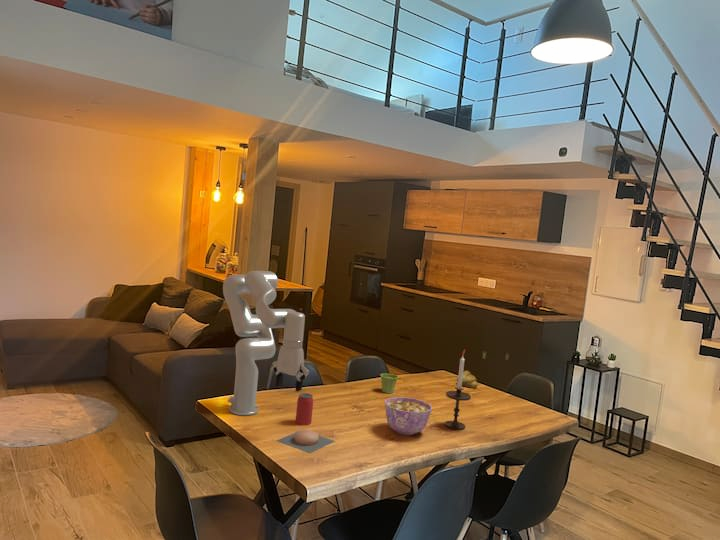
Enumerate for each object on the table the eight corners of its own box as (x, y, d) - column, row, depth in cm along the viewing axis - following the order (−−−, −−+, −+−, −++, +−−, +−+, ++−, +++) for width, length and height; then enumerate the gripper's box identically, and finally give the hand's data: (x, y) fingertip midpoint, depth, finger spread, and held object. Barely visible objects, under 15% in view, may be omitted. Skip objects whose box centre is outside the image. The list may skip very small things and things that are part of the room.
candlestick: (462, 422, 244) (470, 346, 242) (470, 431, 233) (480, 352, 231) (439, 421, 242) (447, 345, 240) (447, 430, 231) (456, 350, 229)
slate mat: (275, 441, 200) (276, 440, 200) (302, 431, 213) (302, 429, 213) (309, 454, 191) (310, 453, 191) (335, 442, 205) (335, 441, 205)
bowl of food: (395, 442, 212) (398, 413, 211) (374, 424, 230) (376, 397, 229) (438, 439, 220) (441, 411, 219) (414, 421, 238) (417, 396, 237)
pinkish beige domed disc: (289, 440, 201) (289, 434, 201) (303, 434, 208) (304, 428, 208) (308, 447, 196) (308, 440, 196) (322, 441, 204) (323, 434, 204)
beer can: (313, 422, 224) (316, 394, 223) (307, 427, 218) (309, 398, 217) (299, 419, 226) (302, 391, 225) (292, 424, 220) (295, 395, 219)
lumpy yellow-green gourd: (480, 388, 308) (482, 375, 307) (467, 389, 303) (469, 375, 303) (466, 382, 319) (467, 369, 319) (453, 383, 314) (455, 369, 314)
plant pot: (377, 388, 286) (379, 372, 285) (394, 389, 287) (396, 374, 286) (380, 393, 277) (381, 377, 276) (398, 395, 278) (399, 378, 277)
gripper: (269, 341, 208) (265, 384, 208) (304, 349, 199) (300, 394, 200) (281, 339, 214) (277, 381, 215) (316, 347, 205) (312, 391, 206)
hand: (288, 387), depth 207 cm, fingers open, 9 cm apart
